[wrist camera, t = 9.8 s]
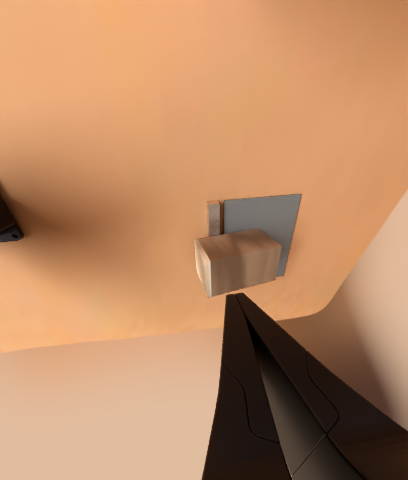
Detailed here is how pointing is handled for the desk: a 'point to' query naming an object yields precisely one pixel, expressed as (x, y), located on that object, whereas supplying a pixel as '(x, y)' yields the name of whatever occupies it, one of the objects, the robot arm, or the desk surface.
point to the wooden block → (236, 260)
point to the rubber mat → (265, 219)
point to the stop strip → (213, 218)
